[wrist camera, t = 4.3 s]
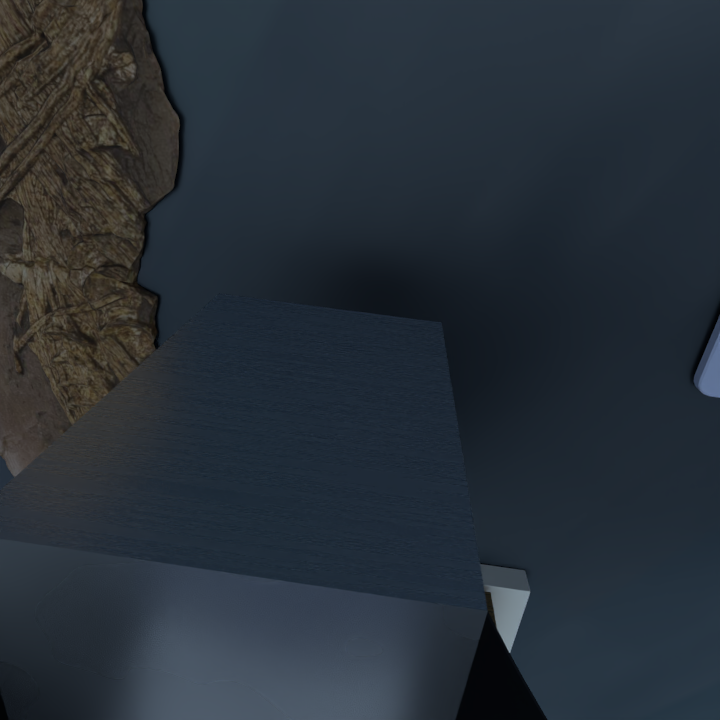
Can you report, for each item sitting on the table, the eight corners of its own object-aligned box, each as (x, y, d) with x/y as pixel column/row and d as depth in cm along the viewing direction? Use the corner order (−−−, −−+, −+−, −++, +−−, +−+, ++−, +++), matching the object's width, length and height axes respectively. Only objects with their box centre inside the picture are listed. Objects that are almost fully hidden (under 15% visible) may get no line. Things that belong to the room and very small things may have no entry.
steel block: (441, 322, 9) (487, 610, 4) (384, 631, 13) (365, 1020, 7) (218, 293, 9) (-47, 532, 4) (221, 606, 13) (81, 968, 7)
